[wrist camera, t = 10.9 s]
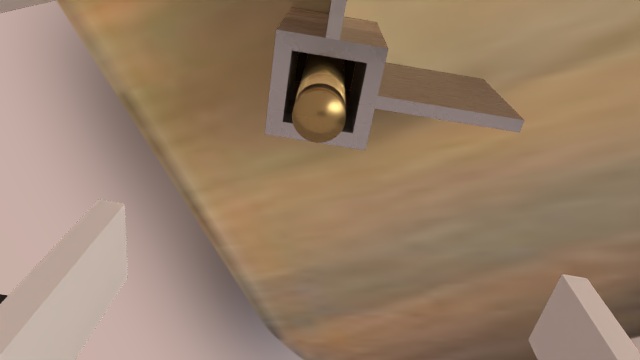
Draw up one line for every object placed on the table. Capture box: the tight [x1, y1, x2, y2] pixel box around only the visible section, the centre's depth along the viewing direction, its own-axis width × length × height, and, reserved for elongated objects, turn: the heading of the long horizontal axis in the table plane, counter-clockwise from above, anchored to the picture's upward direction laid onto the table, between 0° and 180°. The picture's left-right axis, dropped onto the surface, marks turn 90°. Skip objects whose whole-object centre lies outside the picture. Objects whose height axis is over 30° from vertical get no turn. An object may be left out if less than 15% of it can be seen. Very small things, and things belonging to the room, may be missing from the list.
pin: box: [292, 53, 346, 143], centre depth 30 cm, size 3×3×13 cm
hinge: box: [265, 0, 524, 150], centre depth 30 cm, size 15×15×9 cm
